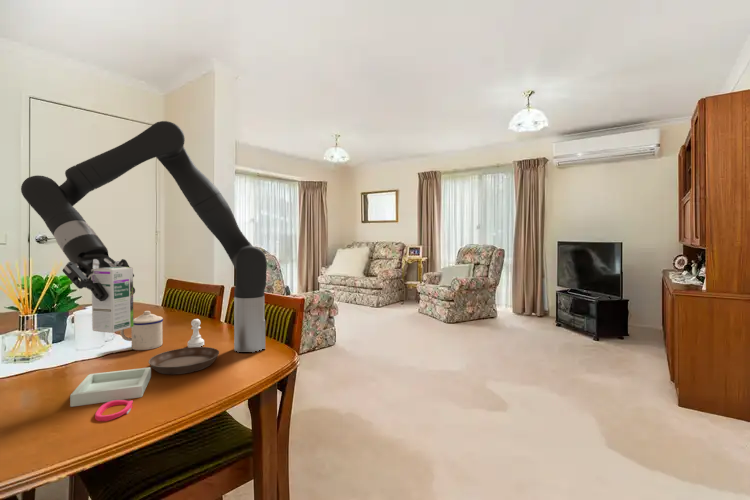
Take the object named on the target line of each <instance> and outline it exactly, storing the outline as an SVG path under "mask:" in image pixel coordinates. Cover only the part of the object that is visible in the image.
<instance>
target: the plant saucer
mask: <svg viewBox="0 0 750 500" xmlns="http://www.w3.org/2000/svg"><path fill="white" fill-rule="evenodd" d="M219 354H220V351H219V350H218V349H217V348H214V347H208V346H202V347H190V348H189V347H183V348H177V349H171V350H166V351H164V352H160V353H157V354H156V355H154V356H152V357H151V358H149V360H148V364H149V366H150V367H151V369H153V370H154V371H156V372H157V373H159V374H162V375H183V374H189V373H195V372H198V371H201V370H204V369H206V368H208V367H209V366H211V365H212V364H213V363H214V362H215V361H216V360H217V359H218V357H219ZM194 371H195V372H194Z"/></svg>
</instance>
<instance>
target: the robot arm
mask: <svg viewBox="0 0 750 500" xmlns="http://www.w3.org/2000/svg"><path fill="white" fill-rule="evenodd" d="M185 138H186V137H185V134H184V131H183V130H182V128H181V127H179V125H178V124H176V123H174V122H171V121H167V120H162V121H157V122H155V123H153V124H152V125H151V126H148V128H146V129H145V130H143V131H141V132H140V133H139V134H137V135H135V136H134V137H132V138H131V139H129V140H127V141H125V142H123V143H121V144H119V145H117V146H116V147H113V148H111V149H109V150H107V151H105V152H104V151H103V152H101V153H100V154H98V155H95V156H92V157H90V158H88V159H86V160H84V161H81V162H79V163H77V164H75V165H72V166H70V167H68V168H67V169H66V170H65V173H64V174H65V178H66V179H65V181H64V182H63V183H62V184H60V185H59V184H58V183H57V182H56V181H55V180H53V179H52V178H50V177H48V176H45V175H31V176H29V177H27V178H25V179H24V181H23V182H22V184H21V186H20V192H21V195H22V197H23V198H24V200H25V201H26V202H27V203H28V205H30V207H31V208H32V209H33V210H34V211H35V213H36V214H37V215H38V216H39V217H40V218H41V219H42V220H43V222H44V223H45V225H46V227H47V228H48V229H47V230H49V232H50V233H51V234H52V235H53V237H54V239H55V241H56V244H57V245H58V246H59V248H60V249H61V250H62V252H63V254H64V255H65V256H66V258H67V260H68V262H67V263H66V265H65V266H64V267H63V268H62V272H63V274H65V276H66V277H67V278H68V279H69V280H70V281H71V282H72V283H73V284H74V285H75V287H76V288H77V289H80V290H81V289H83V288H85V289H87V290H89V291H91V294H92V293H93V294H94V296H95V297H96V298H97V299H99V300H100V301H105V300H106V299H107V297H108V293H107V292H106V290H105V289H104V288H103V286H102V285H101V283H98V278H97V277H96V276H95V272H94V270H93V271H92V272H91V270H92V269H95V268H107V267H130V265H129V263H128V262H127V260H126V259H124V258H122V259H120V261H117V260H114V259H113V258H111V257H110V256H109V255H110V254H109V250H108V248H107V247H106V245H105V244H104V243H103V241H102V240H101V238H100V237H99V236H98V235H97V233H96V231H95V230H94V229H93V228H92V227H91V226H90V225H89V224H88V223H87V222H86V220H85V219H84V217H83V216H82V215H81V214H80V211H78V210H77V209H76V208H75V207H74V206H75V205H76V204H77V203H79V202H80V201H81V200H82V199H84V197H85V196H87V195H88V194H89V193H90V192H92V191H95V190H97V189H99V188H100V187H103V186H105V185H107V184H109V183H111V182H113V181H115V180H116V179H118V178H119V177H121V176H123V175H124V174H126V173H128V172H129V171H131V170H132V169H134V168H135V167H138V166H139V165H141V164H142V163H145V162H146V161H149V160H152V159H155V158H156V159H157V160H158V161H159V162H160V163H161V165H163V167H164V168H165V169H166V170H167V172H168V173H169V174H170V175H171V177H172V178H173V180H174V181H175V183H176V184H177V186H178V187H179V189H180V191H181V193H182V194H183V196H184V197H185V198H186V200H187V202H188V204H189V205H190V206H191V207H192V209H193V211H194V212H195V213H196V215H197V216H198V217H199V218H200V220H201V221H202V223H204V225H205V226H206V228H207V229H208V230H209V231H210V233H212V235H213V236H214V237H215V238H216V239H217V240H218V241H219V243H220V244H221V246H222V247H223V250H224V251H225V252H226V254H227V257H229V259H230V262H231V263H232V265H233V267H234V268H235V277H236V278H235V287H234V290H233V293H234V297H233V302H234V303H233V304H234V305H233V308H234V309H233V310H234V311H233V314H234V320H233V321H234V322H233V323H234V325H233V326H234V328H233V330H234V331H233V335H234V336H233V338H234V339H233V340H234V343H233V346H234V347H233V348H234V349H233V350H234V352H236V351H237V352H236V353H239V352H252V353H256V352H255V351H257V352H260V351H263V350H262V349H265V350H266V319H265V291H266V287H267V267H268V266H267V257H266V255H265V253H264V251H263V250H262V249H261V248H258V247H256V246H253V244H252V243H251V241H249V240H248V239H247V237H246V236H245V235H244V233H243V232H242V231H241V229H240V227H239V225H238V222H237V220H236V218H235V216H234V214H233V212H232V209H231V208H230V205H229V204H228V202H227V200H226V199H225V197H224V196H223V194H222V193H221V191H220V190H219V189H218V187H217V186H216V185H215V184H214V183H213V182H212V181H211V180H210V179H209V178H208V177H207V176H206V175H205V174H204V173H203V172H202V171H201V170H200V169H199V168H198V167H197V166H196V165H195V164H194V161H193V160H192V159H191V156H190V155H189V154H188V152H187V151H186V148H185V147H184V146H185V142H186V141H185ZM134 277H135V274H134V273H133V278H134ZM135 292H136V289H135V287H134V286H133V295H134V294H135ZM259 350H260V351H259Z"/></svg>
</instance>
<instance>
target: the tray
mask: <svg viewBox="0 0 750 500" xmlns="http://www.w3.org/2000/svg"><path fill="white" fill-rule="evenodd" d="M151 378H152V367H151V366H150V367H142V368H132V369H123V370H114V371H107V372H106V371H105V372H104V371H103V372H95V373H89V374H88V375H87V376H86V377H85V378H84V380H82V381H81V382H80V383H79V385H78V386H77V387H76V388H75V389H74V390H73V391H72V393H71V394H70V397H69V398H70V399H69V401H70V403H69V404H70V405H69V407H71V408H72V407H79V406H87V405H93V404H95V405H96V404H100V403H107V402H110V401H114V400H131V399H137V398H142V397H143V396H144V393H145V392H146V390H147V386H148V384H149V382H150V380H151Z"/></svg>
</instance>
